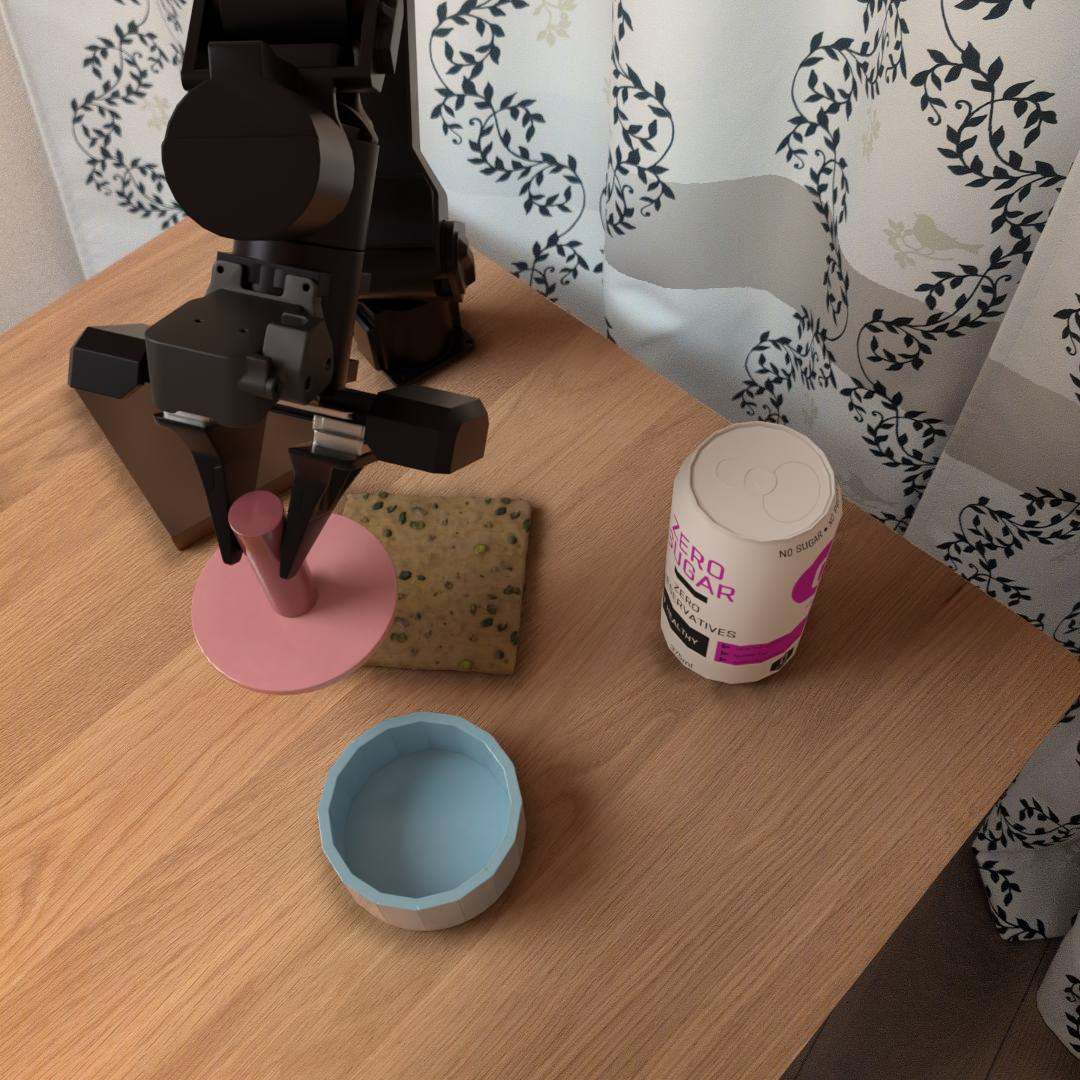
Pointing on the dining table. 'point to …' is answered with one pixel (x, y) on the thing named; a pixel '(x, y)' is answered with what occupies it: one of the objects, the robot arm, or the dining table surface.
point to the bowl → (423, 820)
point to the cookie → (450, 578)
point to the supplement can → (746, 549)
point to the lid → (293, 603)
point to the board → (183, 460)
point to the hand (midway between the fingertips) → (259, 570)
